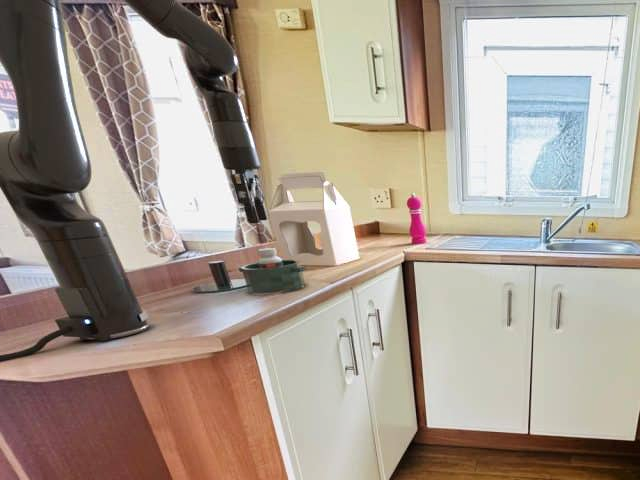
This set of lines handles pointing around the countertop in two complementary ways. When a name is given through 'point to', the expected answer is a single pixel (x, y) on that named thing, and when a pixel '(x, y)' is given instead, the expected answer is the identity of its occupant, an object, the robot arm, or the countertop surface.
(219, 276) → the pot lid
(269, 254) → the pill bottle
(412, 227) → the pepper mill
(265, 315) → the countertop surface
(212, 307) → the countertop surface
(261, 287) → the pot
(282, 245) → the gable box
